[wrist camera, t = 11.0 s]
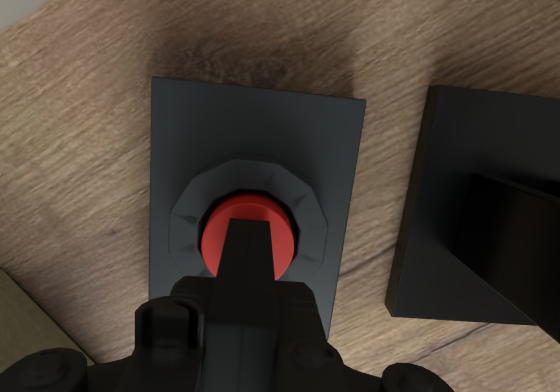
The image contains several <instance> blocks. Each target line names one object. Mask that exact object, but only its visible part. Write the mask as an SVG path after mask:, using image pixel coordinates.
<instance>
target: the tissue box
mask: <svg viewBox="0 0 560 392" xmlns="http://www.w3.org/2000/svg"><path fill="white" fill-rule="evenodd" d="M58 347H61V348H73V349H75V350H77V351H80V352H82V353H83V354H84V356H85V357H86V359H87V364H88V366H91V365H95V364H94V363H93V362H92V361H91V360H90V359H89V358H88V357H87V355H86V354H85V353H84V352H83V351H82V350H81V349H80V348H79V347H78V346H77V345H76V344H75V343H74V342H73V341H72V340H71V339H70V338H69V337H68V336H67V335H66V334H65V333H64V332H63V331H62V330H61V329H60V328H59V327H58V326H57V325H56V324H55V323H54V322H53V321H52V320H51V319H50V318H49V317H48V316H47V315H46V314H45V313H44V312H43V311H42V310H41V309H40V308H39V307H38V306H37V305H36V304H35V303H34V302H33V301H32V300H31V299H30V298H29V297H28V295H27V294H26V293H25V292H24V291H23V290H22V289H21V288H20V287H19V286H18V285H17V284H16V283H15V282H14V281H13V280H12V279H11V278H10V277H9V276H8V275H7V274H6V273H5V272H4V271H3V270H2V269H0V373H2V372H3V371H4V370H6V369H7V368H8V367H10V366H11V365H12V364H14V363H15V362H17V361H19V360H20V359H22V358H24V357H25V356H27V355H30V354H33V353H35V352H38V351H41V350H45V349H51V348H58Z"/></svg>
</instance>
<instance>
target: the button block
mask: <svg viewBox="0 0 560 392" xmlns="http://www.w3.org/2000/svg"><path fill="white" fill-rule="evenodd" d="M365 108H366V100H365V99H357V98H348V97H339V96H330V95H321V94H312V93H303V92H294V91H285V90H276V89H266V88H257V87H248V86H239V85H230V84H221V83H212V82H203V81H194V80H185V79H176V78H167V77H158V76H152V85H151V159H150V232H149V300H151V299H154V298H159V297H163V296H170V292H171V290H172V288H173V286H174V284H175V283H176V282H177V281H179V280H180V279H181V278H183V277H184V276H185V275H186V276H201V277H215V276H214V275H213V274H212V273H211V271H210V270H209V269H208V267H207V266H206V264H205V261H204V259H203V256H202V250H201V242H202V236H203V232H204V230H205V227H206V225H207V222H208V220H209V217H210V215H211V213H212V211H213V210H214V208H215V207H216V206H217V205H218V204H219V203H220V202H221V201H223V200H224V199H225V198H227V197H229V196H231V195H234V194H236V193H241V192H257V193H261V194H264V195H267V196H269V197H271V198H272V199H274V200H275V201H276V202H278V203H279V204H280V205H281V206H282V208H283V209H284V210H285V212H286V214H287V216H288V218H289V221H290V225H291V229H292V233H293V238H294V253H293V257H292V260H291V263H290V265H289V267H288V268H287V269H286V271H285V272H284V273H283V274H282V275H281V276H280V277H279V278H278V279H277V280H279V281H294V282H304V283H305V284H306V285H307V286H308V287H309V288H310V289H311V290H312V291H313V292H314V296H315V300H316V304H317V307H318V310H319V311H318V313H319V314H320V317H321V321H322V324H323V328H324V331H325V335H326V339H327V341H328V337H329V331H330V325H331V318H332V312H333V306H334V300H335V294H336V287H337V281H338V275H339V269H340V263H341V256H342V250H343V244H344V238H345V232H346V226H347V219H348V213H349V207H350V201H351V195H352V188H353V182H354V176H355V170H356V164H357V158H358V151H359V145H360V139H361V133H362V127H363V120H364V114H365Z"/></svg>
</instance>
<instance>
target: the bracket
mask: <svg viewBox="0 0 560 392" xmlns="http://www.w3.org/2000/svg"><path fill="white" fill-rule="evenodd" d="M385 306H386V308H387V310H388V311H389V313H390V315H391V316H392V317H402V318H419V319H435V320H451V321H467V322H484V323H500V324H516V325H532V326H539V327H540V328H541V329H542V330H543V331H545V332H546V333H547V334H548V335H550V336H551V337H552V338H553V339H554V340H556V341H557V342H558V343H559V344H560V99H557V98H548V97H539V96H531V95H522V94H513V93H505V92H496V91H488V90H479V89H470V88H462V87H453V86H444V85H433V86H429V88H428V93H427V98H426V103H425V108H424V113H423V118H422V123H421V128H420V133H419V137H418V142H417V147H416V152H415V157H414V162H413V167H412V172H411V177H410V182H409V187H408V192H407V197H406V202H405V207H404V212H403V216H402V221H401V226H400V231H399V236H398V241H397V246H396V251H395V256H394V261H393V266H392V271H391V276H390V281H389V286H388V291H387V296H386V300H385Z"/></svg>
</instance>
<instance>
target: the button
mask: <svg viewBox="0 0 560 392" xmlns="http://www.w3.org/2000/svg"><path fill="white" fill-rule="evenodd" d="M230 218H238V219H251V220H263V221H270V229H271V240H272V251H273V261H274V272H275V280H277V279H278V278H279V277H280V276H281V275H282V274H283V273H284V272H285V271H286V269H287V268H288V267H289V265H290V263H291V260H292V257H293V253H294V238H293V233H292V229H291V225H290V221H289V218H288V216H287V214H286V212H285V210H284V209H283V208H282V206H281V205H280V204H279V203H278V202H276V201H275V200H274V199H272V198H271V197H269V196H267V195H264V194H261V193H257V192H241V193H236V194H234V195H231V196H229V197H227V198H225V199H224V200H223V201H221V202H220V203H219V204H218V205H217V206H216V207H215V208H214V210H213V211H212V213H211V215H210V217H209V220H208V222H207V225H206V227H205V230H204V232H203V236H202V242H201V250H202V256H203V259H204V261H205V264H206V266H207V267H208V269H209V270H210V271H211V273H212V274H213V275H214V276H215V277H216V275H217V271H218V266H219V262H220V258H221V253H222V249H223V245H224V241H225V236H226V232H227V228H228V223H229V219H230Z"/></svg>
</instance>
